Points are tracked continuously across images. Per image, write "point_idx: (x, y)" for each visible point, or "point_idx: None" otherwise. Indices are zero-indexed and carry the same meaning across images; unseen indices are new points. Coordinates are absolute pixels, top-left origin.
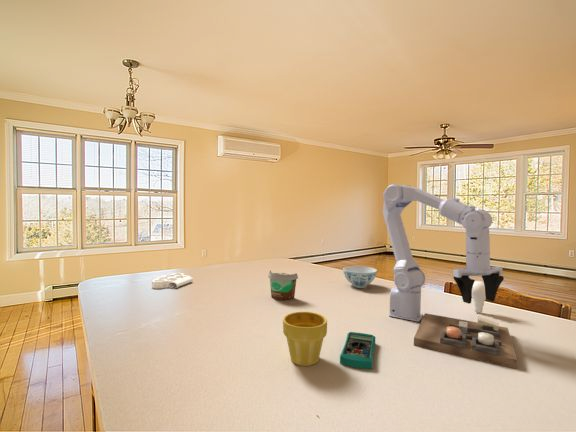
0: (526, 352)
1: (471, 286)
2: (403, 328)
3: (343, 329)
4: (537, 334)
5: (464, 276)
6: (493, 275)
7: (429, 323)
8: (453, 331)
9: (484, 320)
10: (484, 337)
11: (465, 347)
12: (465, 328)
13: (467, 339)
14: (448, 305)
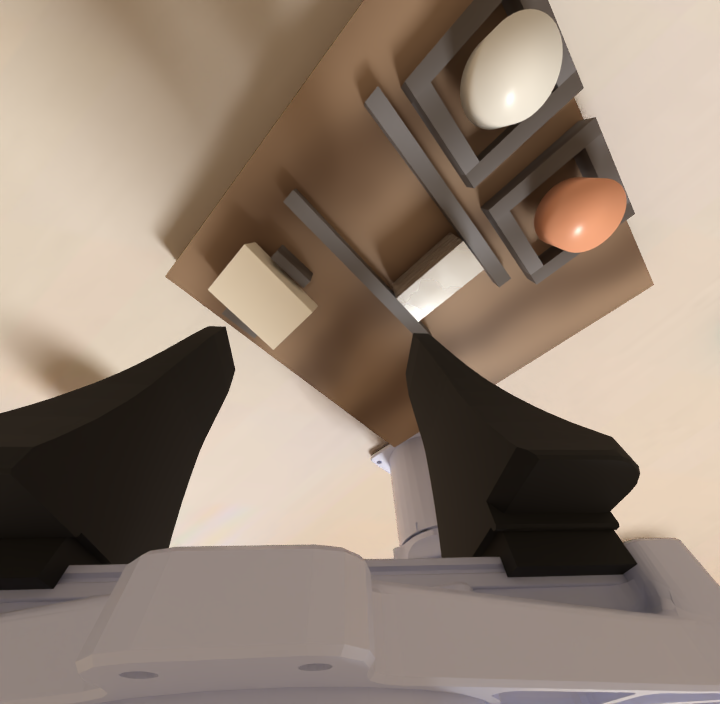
0: (233, 74)
1: (486, 405)
2: (523, 390)
3: (696, 417)
4: (30, 236)
5: (582, 552)
6: (39, 544)
7: None
8: (623, 189)
9: (279, 306)
10: (559, 41)
11: (582, 120)
12: (464, 245)
13: (467, 211)
14: (223, 495)
